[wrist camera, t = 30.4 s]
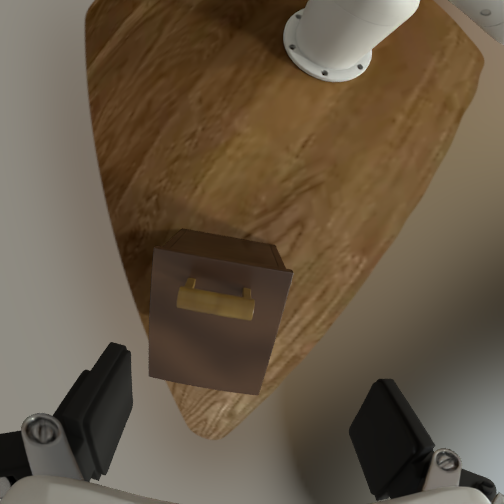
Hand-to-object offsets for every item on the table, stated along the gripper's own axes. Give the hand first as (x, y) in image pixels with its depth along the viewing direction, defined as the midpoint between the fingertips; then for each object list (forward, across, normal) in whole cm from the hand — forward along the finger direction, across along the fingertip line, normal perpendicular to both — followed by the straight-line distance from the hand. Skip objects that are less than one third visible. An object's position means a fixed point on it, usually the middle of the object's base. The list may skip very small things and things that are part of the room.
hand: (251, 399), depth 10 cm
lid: (+18, +2, +8) cm, 20 cm away
